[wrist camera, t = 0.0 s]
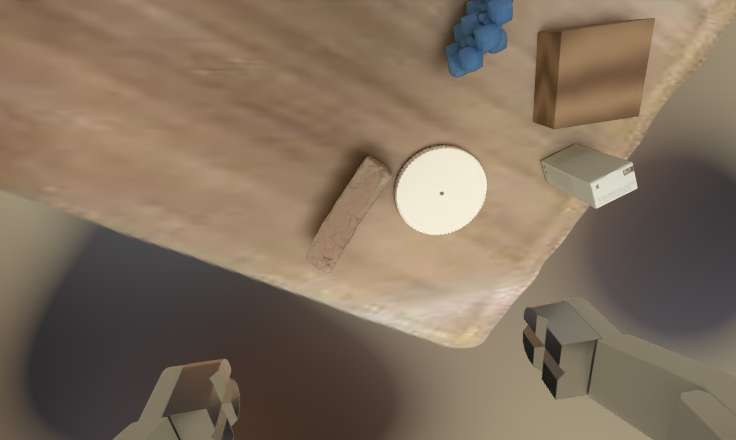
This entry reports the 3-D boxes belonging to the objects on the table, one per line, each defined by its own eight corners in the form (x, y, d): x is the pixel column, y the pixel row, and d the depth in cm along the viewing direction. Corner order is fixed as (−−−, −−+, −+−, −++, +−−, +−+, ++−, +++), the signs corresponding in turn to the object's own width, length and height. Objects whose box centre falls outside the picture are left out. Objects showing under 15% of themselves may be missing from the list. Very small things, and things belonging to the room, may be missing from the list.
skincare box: (546, 183, 62) (595, 212, 51) (538, 159, 60) (587, 184, 49) (582, 165, 61) (639, 191, 50) (576, 140, 59) (634, 161, 49)
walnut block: (536, 32, 53) (561, 31, 47) (620, 20, 53) (655, 18, 48) (532, 121, 58) (554, 129, 52) (608, 109, 58) (638, 116, 53)
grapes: (463, 88, 54) (499, 98, 44) (423, 64, 52) (450, 68, 42) (512, 4, 51) (564, -7, 40) (470, -25, 49) (513, -45, 38)
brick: (365, 156, 49) (395, 177, 49) (371, 154, 57) (397, 172, 57) (297, 258, 53) (326, 277, 53) (312, 243, 61) (337, 260, 61)
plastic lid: (450, 240, 65) (455, 247, 62) (377, 207, 61) (379, 214, 58) (497, 167, 60) (504, 172, 58) (422, 127, 56) (426, 130, 54)
